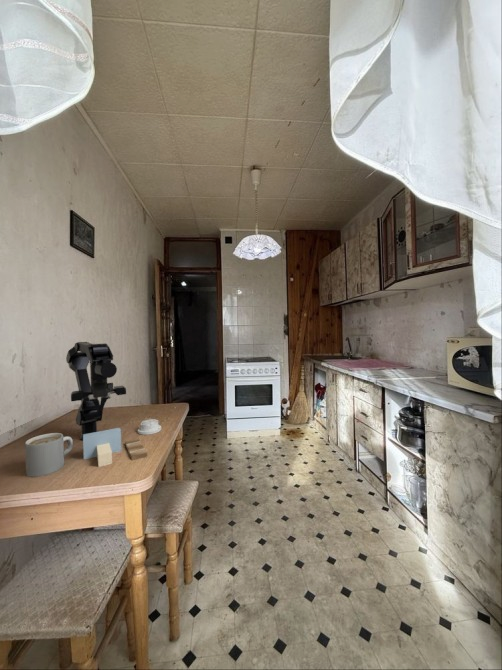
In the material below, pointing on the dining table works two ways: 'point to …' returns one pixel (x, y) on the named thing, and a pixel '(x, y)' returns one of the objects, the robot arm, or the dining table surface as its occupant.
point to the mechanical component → (149, 427)
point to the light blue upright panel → (102, 445)
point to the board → (135, 449)
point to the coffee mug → (46, 454)
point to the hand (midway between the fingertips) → (100, 414)
